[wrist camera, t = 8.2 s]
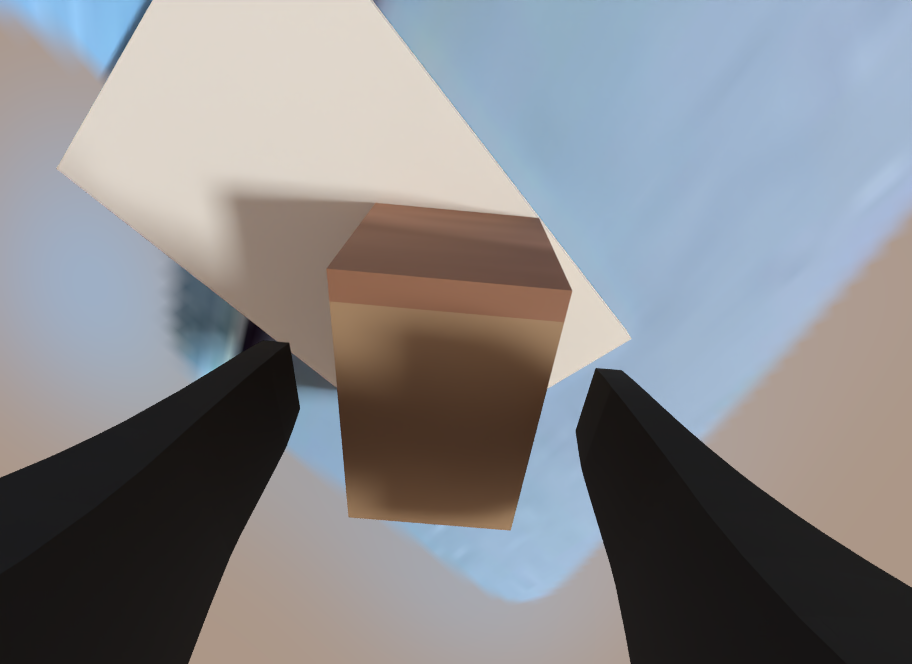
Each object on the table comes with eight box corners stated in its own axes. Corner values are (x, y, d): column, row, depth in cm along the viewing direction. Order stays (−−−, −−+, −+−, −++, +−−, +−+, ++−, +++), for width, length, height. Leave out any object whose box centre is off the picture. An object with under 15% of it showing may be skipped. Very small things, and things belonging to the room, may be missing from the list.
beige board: (73, 164, 10) (56, 168, 10) (257, -148, 7) (245, -162, 7) (429, 448, 15) (428, 459, 15) (625, 329, 12) (631, 338, 12)
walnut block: (501, 416, 14) (510, 530, 10) (379, 406, 14) (348, 517, 10) (539, 217, 10) (572, 290, 7) (375, 202, 10) (326, 268, 7)
